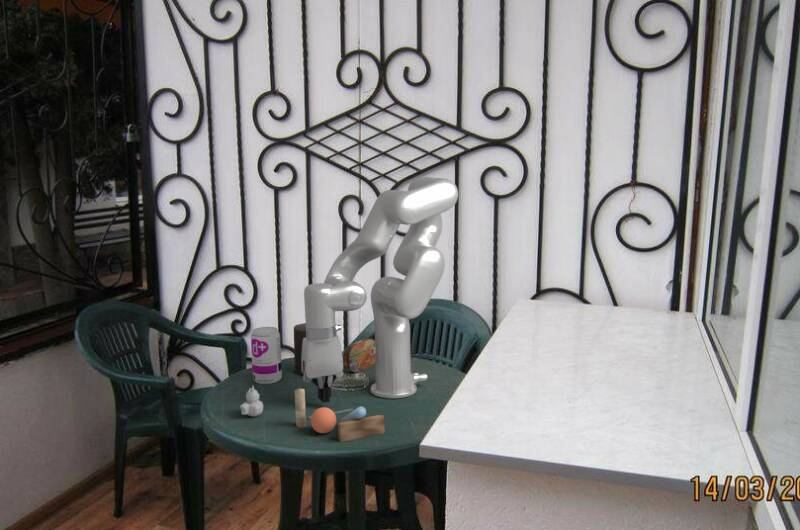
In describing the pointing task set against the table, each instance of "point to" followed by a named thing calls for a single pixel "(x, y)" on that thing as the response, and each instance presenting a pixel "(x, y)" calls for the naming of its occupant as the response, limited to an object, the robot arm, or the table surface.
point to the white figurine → (252, 403)
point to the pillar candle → (299, 346)
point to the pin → (355, 414)
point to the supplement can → (266, 355)
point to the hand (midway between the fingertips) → (324, 400)
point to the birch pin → (300, 408)
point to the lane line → (339, 412)
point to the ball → (323, 420)
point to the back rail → (361, 428)
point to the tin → (359, 355)
